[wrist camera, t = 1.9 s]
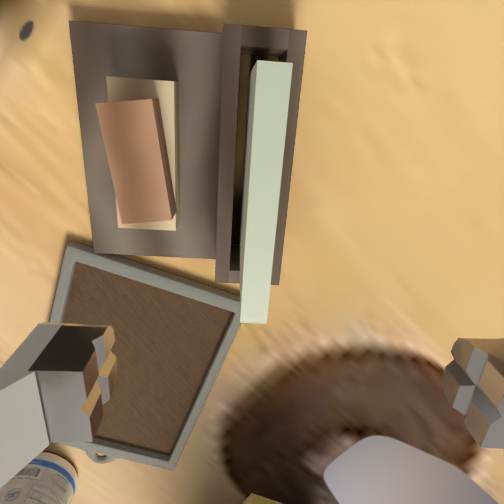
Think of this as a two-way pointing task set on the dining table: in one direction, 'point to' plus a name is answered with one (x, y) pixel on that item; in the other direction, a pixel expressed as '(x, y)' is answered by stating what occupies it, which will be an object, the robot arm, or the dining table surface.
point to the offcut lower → (170, 116)
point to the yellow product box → (259, 500)
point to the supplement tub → (41, 482)
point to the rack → (182, 131)
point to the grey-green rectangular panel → (262, 183)
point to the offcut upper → (138, 159)
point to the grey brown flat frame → (147, 349)
